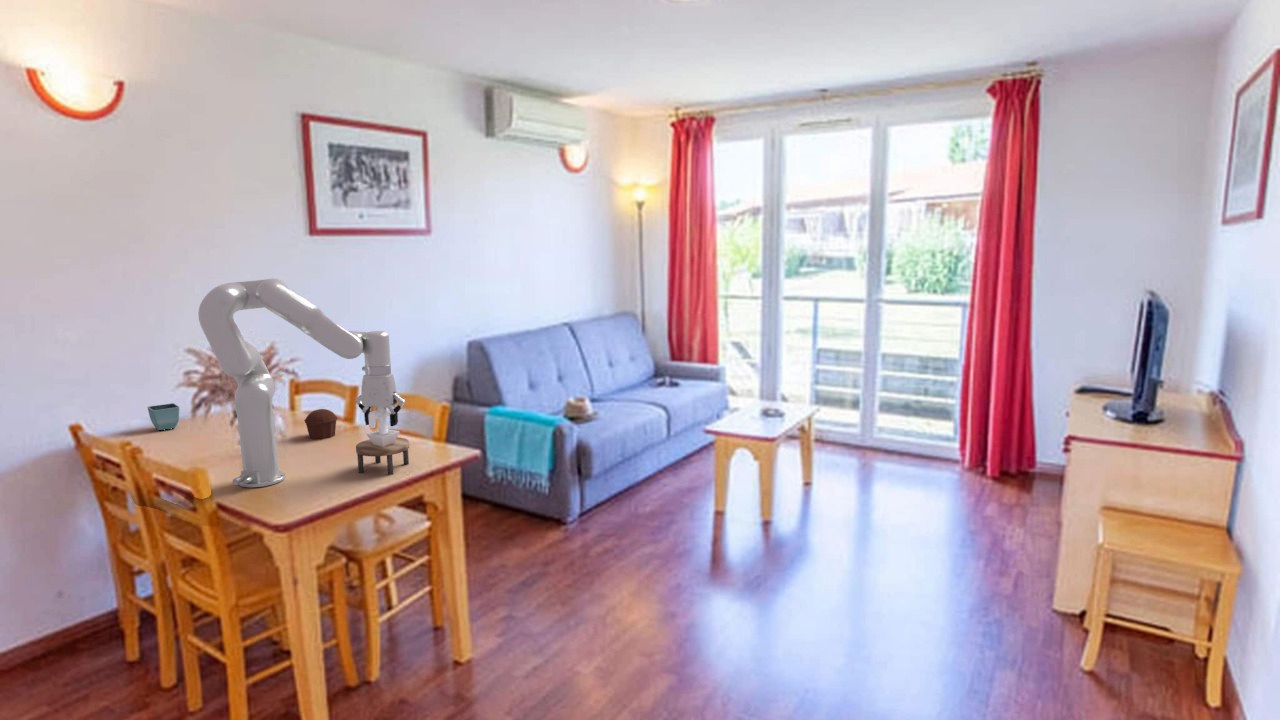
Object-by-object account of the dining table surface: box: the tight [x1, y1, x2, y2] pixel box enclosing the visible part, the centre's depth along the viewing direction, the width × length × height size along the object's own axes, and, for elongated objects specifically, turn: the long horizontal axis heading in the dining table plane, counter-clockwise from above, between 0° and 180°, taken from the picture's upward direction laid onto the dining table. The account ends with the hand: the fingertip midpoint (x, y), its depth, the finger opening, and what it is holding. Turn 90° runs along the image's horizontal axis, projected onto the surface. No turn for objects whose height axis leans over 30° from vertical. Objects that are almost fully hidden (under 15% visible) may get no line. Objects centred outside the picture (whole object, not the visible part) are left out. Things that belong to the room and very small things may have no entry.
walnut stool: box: [355, 437, 410, 476], centre depth 225 cm, size 16×16×8 cm
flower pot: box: [147, 402, 180, 431], centre depth 270 cm, size 9×9×9 cm
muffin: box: [303, 408, 338, 441], centre depth 261 cm, size 12×11×10 cm
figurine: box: [366, 407, 401, 446], centre depth 223 cm, size 7×9×15 cm
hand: (381, 424), depth 223 cm, fingers open, 8 cm apart
